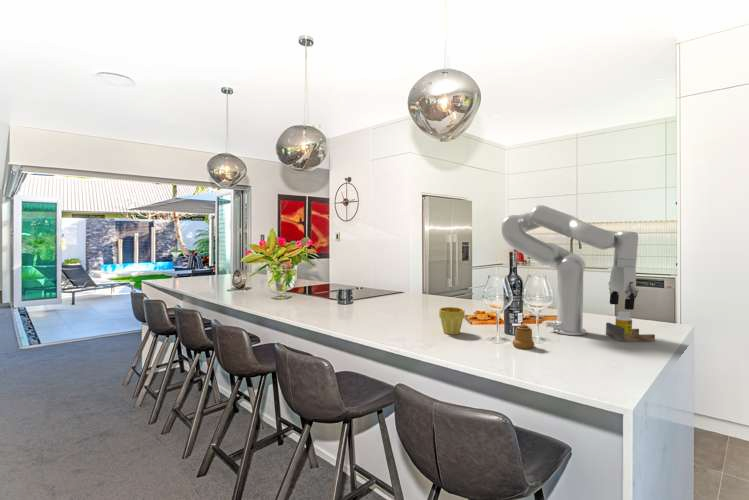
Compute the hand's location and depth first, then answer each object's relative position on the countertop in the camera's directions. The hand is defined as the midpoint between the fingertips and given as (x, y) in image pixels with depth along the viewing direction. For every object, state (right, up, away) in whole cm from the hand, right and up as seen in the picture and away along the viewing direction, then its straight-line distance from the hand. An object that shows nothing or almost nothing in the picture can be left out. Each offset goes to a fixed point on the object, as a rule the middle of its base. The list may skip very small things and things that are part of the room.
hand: (621, 306), depth 161 cm
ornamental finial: (-42, -13, -11) cm, 46 cm away
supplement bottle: (+1, -13, 0) cm, 13 cm away
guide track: (+4, -12, 0) cm, 13 cm away
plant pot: (-65, -12, +9) cm, 66 cm away
